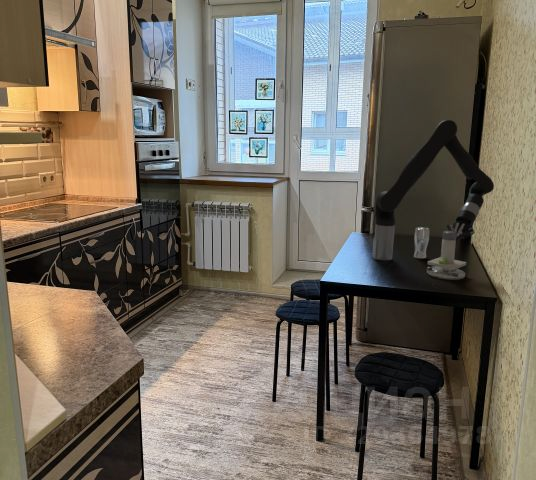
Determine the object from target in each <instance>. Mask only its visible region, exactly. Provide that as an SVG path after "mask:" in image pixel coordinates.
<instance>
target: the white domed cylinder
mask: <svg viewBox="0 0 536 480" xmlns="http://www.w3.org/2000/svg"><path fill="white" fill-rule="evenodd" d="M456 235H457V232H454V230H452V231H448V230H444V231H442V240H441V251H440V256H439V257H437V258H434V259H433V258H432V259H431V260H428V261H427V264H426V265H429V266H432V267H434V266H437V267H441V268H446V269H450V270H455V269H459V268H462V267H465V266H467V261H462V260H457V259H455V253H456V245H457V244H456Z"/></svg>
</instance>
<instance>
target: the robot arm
mask: <svg viewBox="0 0 536 480" xmlns="http://www.w3.org/2000/svg"><path fill="white" fill-rule="evenodd" d="M457 133H458V126H457V123H456V122H455V121H454V120H451V119H445V120H442V121H440V122H439V123H438V125H436V128H435V130H434V131H433V133H431V136H430V137H429V139H428V140H427V141H426V142H425V143H424V144H423V145H422V146H421V147H420V148H419V149H418V150H417V151H416V152H415V153H414V154H413V155H412V156H411V157H410V158H409V160H408V161H407V163H406V164H404V166H403V168H402V170H401V171H400V173H399V175H398V178H397V179H396V181H395V182H394V184H393V185H392V186H391V187H390V188H389V189H388V190H387V191H386V190H385V191H382V192H380V193H379V194H378V195H377V197H376V199H375V214H374V215H375V216H374V217H375V227H374V230H375V231H374V237H373V240H372V250H371V251H372V252H371V253H372V255H371V257H372V258H373V259H374V260H378V261H391V260H393V254H394V253H393V252H394V249H393V248H394V239H395V227H396V219H395V210H396V209H397V208H398V206H400V203H401V202H402V200H403V199H404V198H405V196H406V195H407V193H408V192H409V191H410V190H411V188H412V187H413V186H414V185H415V184H416V183H417V182H418V181H419V180H420V178H421V177H422V176H423V175H424V174H425V173H426V171H427V170H428V168H429V167H430V166H431V164H432V163H433V162H434V161H435V159H436V157H437V156H438V154H439V152H441V150H443V148H444V147H445V148H446V150H447V151H448V152H449V154H450V155H451V156H452V158H453V159H454V161H455V163H456V164H457V166H458V167H459V169H460V170H461V172H462V173H463V175H464V177H465V178H466V179H467V180H474V181H475V182H474V183H473V184H472V185H471V186H470V188H469V191H468V196H467V199H466V201H465V203H464V205H462V207H461V208H460V211H459V212H458V214H457V216H456V219H455V220H454V222H453V223H452V224H447V225H446V228H447V231H454V232H457V235H456V245H458V243H459V240H465V239H467V238H469V237H471V236H472V235H474V234H476V233H475V230H474V228H473V225H474V223H475V221H476V219H477V217H478V216H479V213H480V210H481V208H482V207H483V204H484V200H485V199H484V197H483V196H485V195H487V194H489V193H491V192H493V191H494V190H495V184H494V181H493V180H492V179H491V177H490V176H489V175H487V174H486V173H485V172H484V171H483V170H482V169H481V168H480V166H479V165H478V164H477V162H476V161H475V159H474V158H473V156H472V155H471V154H470V153H469V152H468V151H467V150H466V148H465V147H464V146H463V145H462V144H461V142H460V141H459V139H458V136H457Z"/></svg>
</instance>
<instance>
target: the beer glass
mask: <svg viewBox="0 0 536 480" xmlns="http://www.w3.org/2000/svg"><path fill="white" fill-rule="evenodd" d="M429 241H430V228H429V227H425V226H416V227H415V230H414V254H413V258H416V259H419V260H420V259H422V260H423V259H427V247H428V244H429Z"/></svg>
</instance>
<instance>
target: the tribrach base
mask: <svg viewBox="0 0 536 480" xmlns="http://www.w3.org/2000/svg"><path fill="white" fill-rule="evenodd" d="M427 273H428V274H429V276H430V275H431V276H430V277H432V278H436V277H437V278H436V279H441V280H446V281H447V280H451V281H457V280H463V279H465V278H466V272H465V271H464V270H461V269H459V268H457V269H455V270H450V269H446V268H441V267H437V266H426V274H427ZM428 274H427V275H428Z"/></svg>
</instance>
